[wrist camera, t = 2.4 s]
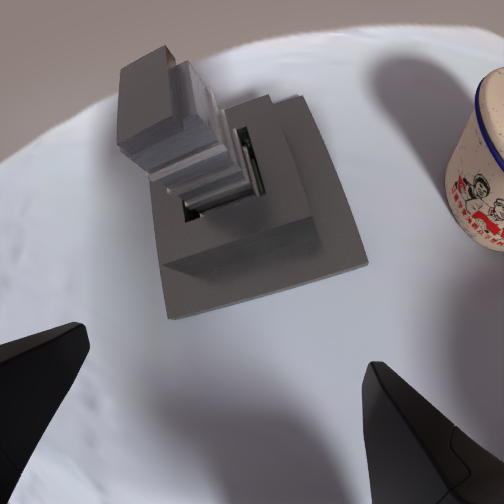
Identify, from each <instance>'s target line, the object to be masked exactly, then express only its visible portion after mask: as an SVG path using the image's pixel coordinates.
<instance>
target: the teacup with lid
mask: <svg viewBox="0 0 504 504" xmlns="http://www.w3.org/2000/svg"><path fill="white" fill-rule="evenodd" d="M445 189H446V195H447V199H448V202H449V205H450V208H451V210H452V212H453V214H454V216H455V218H456V220H457V221H458V223H459V224H460V226H461V227H462V228H463V230H464V231H465V232H466V233H467V234H468V235H469V236H470V237H471V238H472V239H474V240H475V241H476V242H478V243H479V244H481V245H482V246H484V247H486V248H489V249H491V250H495V251H501V252H504V67H502V68H499V69H496V70H494V71H492V72H490V73H489V74H488V75H487V76H485V77H484V78H483V79H482V80H481V82H480V83H479V85H478V88H477V90H476V94H475V106H474V109H473V111H472V113H471V116H470V118H469V120H468V122H467V125H466V127H465V129H464V131H463V133H462V136H461V138H460V140H459V142H458V144H457V146H456V148H455V150H454V152H453V154H452V156H451V158H450V160H449V163H448V165H447V169H446V175H445Z"/></svg>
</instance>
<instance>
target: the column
mask: <svg viewBox="0 0 504 504" xmlns="http://www.w3.org/2000/svg"><path fill="white" fill-rule="evenodd" d="M117 145H118V146H120V151H121V152H122V153H123V154H125V155H126V156H127V157H128V158H130V159H131V160H132V161H134V162H135V163H136V164H137V165H139V166H140V167H141V168H143V169H144V170H145V174H146V177H147V178H148V179H149V180H151V181H152V182H154V181H156V180H158V181H159V182H161V183H162V184H163V185H164V186H166V187H167V193H168V194H169V195H171V196H172V197H175V196H179V197H180V198H181V199H182V200H184V201H185V207H187V208H188V209H189V210H192V209H195V210H196V211H198V212H199V213H200V217H203V216H206V215H209V214H211V213H214V212H217V211H220V210H222V209H225V208H228V207H231V206H234V205H236V204H239V203H242V202H245V201H248V200H251V199H254V198H257V197H259V196H262V195H265V194H266V192H265V189H264V185H263V182H262V178H261V175H260V171H259V168H258V165H257V163H256V161H255V160H254V159H251V156H250V153H249V150H248V148H247V146H246V145H245V146H243V145H242V143H241V140H240V136H239V133H238V131H237V130H236V128H235V129H232V127H231V126H230V123H229V119H228V115H227V113H226V112H225V110H224V109H221V110H220V108H219V107H218V105H217V104H216V100H215V96H214V93H213V91H212V89H211V88H210V86H208V87H205V85H204V84H203V82H202V81H201V79H200V78H199V76H198V75H197V73H196V72H195V70H194V69H193V67H192V66H191V64H190V63H189V61H188V60H187V61H185V62H183V63H181V64H179V65H176V62H175V58H174V57H173V55H172V54H171V53H170V51H169V50H168V48H167V47H166V45H164V46H163V47H160V48H158V49H157V50H155V51H153V52H151V53H149V54H147V55H145V56H143V57H142V58H140V59H138V60H136V61H134V62H133V63H131V64H129V65H128V66H126V67H124V68H122V69H121V73H120V84H119V98H118V118H117Z"/></svg>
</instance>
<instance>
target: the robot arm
mask: <svg viewBox="0 0 504 504" xmlns="http://www.w3.org/2000/svg"><path fill="white" fill-rule="evenodd" d="M89 349H90V343H89V339H88V335H87V330H86V327H85V325H84V324H82V323H78V322H71V323H68V324H65V325H62V326H59V327H55V328H52V329H49V330H46V331H43V332H40V333H37V334H33V335H30V336H27V337H24V338H21V339H18V340H14V341H11V342H8V343H5V344H2V345H0V504H7V503H8V501H9V499H10V497H11V495H12V493H13V491H14V489H15V487H16V484H17V482H18V481H19V479H20V477H21V474H22V472H23V470H24V468H25V467H26V465H27V463H28V461H29V459H30V457H31V455H32V453H33V452H34V450H35V448H36V446H37V444H38V442H39V441H40V439H41V437H42V435H43V433H44V432H45V430H46V428H47V426H48V425H49V423H50V421H51V420H52V418H53V416H54V414H55V413H56V411H57V409H58V408H59V406H60V404H61V403H62V401H63V399H64V398H65V396H66V394H67V393H68V391H69V390H70V388H71V386H72V384H73V382H74V380H75V379H76V376H77V374H78V372H79V370H80V368H81V366H82V364H83V362H84V360H85V358H86V356H87V354H88V352H89ZM362 408H363V434H364V442H365V449H366V456H367V463H368V471H369V479H370V488H371V497H372V504H504V463H503V462H502V461H500V460H499V459H498V458H496V457H495V456H493V455H492V454H490V453H489V452H488V451H486V450H485V449H484V448H482V447H481V446H480V445H478V444H477V443H476V442H474V441H473V440H472V439H471V438H470V437H468V436H467V435H466V434H465V433H464V432H463V431H461V430H460V429H459V428H458V427H457V426H454V424H453V423H452V422H451V421H450V420H449V419H448V418H447V417H445V416H444V415H443V414H442V413H441V412H440V411H439V410H438V409H436V408H435V407H434V406H433V405H432V404H431V403H430V402H428V401H427V400H426V399H425V398H424V397H423V396H422V395H421V394H419V393H418V392H417V391H416V390H415V389H414V388H413V387H411V386H410V385H409V384H408V383H407V382H406V381H405V380H403V379H402V378H401V377H400V376H399V375H398V374H397V373H396V372H394V371H393V370H392V369H391V368H390V367H389V366H388V365H386V364H385V363H384V362H381V361H371V362H370V363H369V364H368V366H367V370H366V373H365V376H364V380H363V383H362Z"/></svg>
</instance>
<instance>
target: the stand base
mask: <svg viewBox="0 0 504 504" xmlns="http://www.w3.org/2000/svg"><path fill="white" fill-rule="evenodd" d="M225 112H226V113H227V115H228V119H229V123H230V126H231V127H232V129H235V128H236V130H237V131H238V133H239V136H240V140H241V143H242V145H243V146H245V145H246V146H247V148H248V150H249V153H250V156H251V159H254V160H255V161H256V163H257V165H258V168H259V171H260V175H261V178H262V182H263V185H264V189H265V192H266V194H265V195H262V196H259V197H257V198H254V199H251V200H248V201H245V202H242V203H239V204H236V205H234V206H231V207H228V208H225V209H222V210H220V211H217V212H214V213H211V214H209V215H206V216H203V217H200V213H199V212H198V211H196V210H195V209H192V210H189V209H188V208H187V207H185V201H184V200H182V199H181V198H180V197H179V196H175V197H172V196H171V195H169V194H168V193H167V187H166V186H164V185H163V184H162V183H161V182H159V181H158V180H156V181H154V182H152V181H151V180H150V190H151V201H152V211H153V220H154V229H155V237H156V245H157V252H158V260H159V267H160V274H161V280H162V287H163V293H164V299H165V305H166V311H167V316H168V319H172V320H176V319H180V318H184V317H188V316H192V315H196V314H200V313H204V312H208V311H212V310H216V309H219V308H223V307H227V306H231V305H234V304H238V303H242V302H246V301H249V300H253V299H256V298H260V297H264V296H267V295H271V294H274V293H278V292H281V291H285V290H288V289H292V288H295V287H299V286H302V285H305V284H309V283H312V282H316V281H319V280H322V279H325V278H329V277H332V276H335V275H339V274H342V273H345V272H348V271H351V270H355V269H358V268H361V267H364V266H367V265H368V263H369V262H368V259H367V256H366V253H365V250H364V247H363V243H362V241H361V238H360V235H359V232H358V229H357V226H356V223H355V220H354V217H353V215H352V212H351V209H350V206H349V204H348V201H347V198H346V196H345V193H344V190H343V188H342V185H341V183H340V180H339V178H338V175H337V173H336V170H335V168H334V165H333V163H332V160H331V158H330V155H329V153H328V151H327V148H326V146H325V144H324V141H323V139H322V137H321V134H320V132H319V130H318V128H317V125H316V123H315V121H314V119H313V117H312V114H311V112H310V110H309V108H308V106H307V104H306V101H305V99H304V97H303V95H302V96H299V97H296V98H293V99H290V100H287V101H284V102H280V103H278V104H275V105H273V104H272V101H271V99H270V96H269V94H268V95H265V96H262V97H259V98H257V99H254V100H251V101H248V102H246V103H243V104H240V105H238V106H235V107H232V108H230V109H227V110H225Z"/></svg>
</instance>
